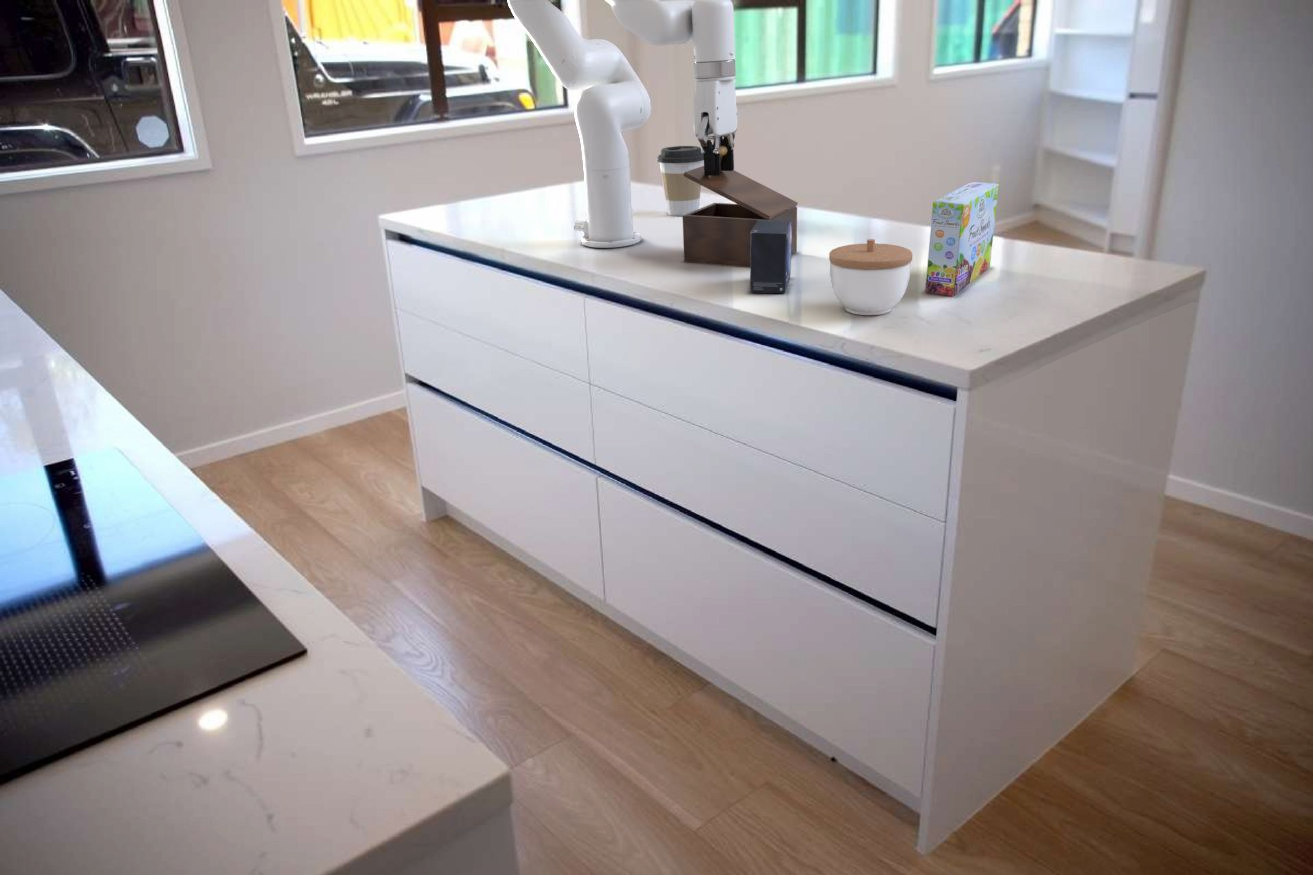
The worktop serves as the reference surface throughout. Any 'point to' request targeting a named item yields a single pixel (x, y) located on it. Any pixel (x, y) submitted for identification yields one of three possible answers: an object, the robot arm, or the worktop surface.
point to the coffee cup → (680, 178)
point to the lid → (743, 190)
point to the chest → (725, 234)
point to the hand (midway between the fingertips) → (719, 172)
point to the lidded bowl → (869, 276)
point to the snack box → (961, 237)
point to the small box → (770, 256)
